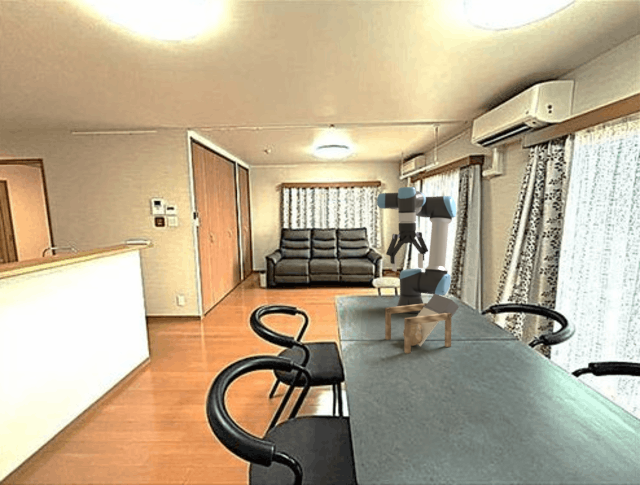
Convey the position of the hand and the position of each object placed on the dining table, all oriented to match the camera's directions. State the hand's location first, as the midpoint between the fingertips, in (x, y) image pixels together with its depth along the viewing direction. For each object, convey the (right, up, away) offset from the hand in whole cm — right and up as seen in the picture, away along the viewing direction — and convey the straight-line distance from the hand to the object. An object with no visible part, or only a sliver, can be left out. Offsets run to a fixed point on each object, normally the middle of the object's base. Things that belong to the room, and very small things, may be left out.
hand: (407, 269), depth 160 cm
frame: (+2, -31, -8) cm, 32 cm away
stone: (+1, -27, -10) cm, 29 cm away
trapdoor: (+10, -24, -6) cm, 26 cm away
